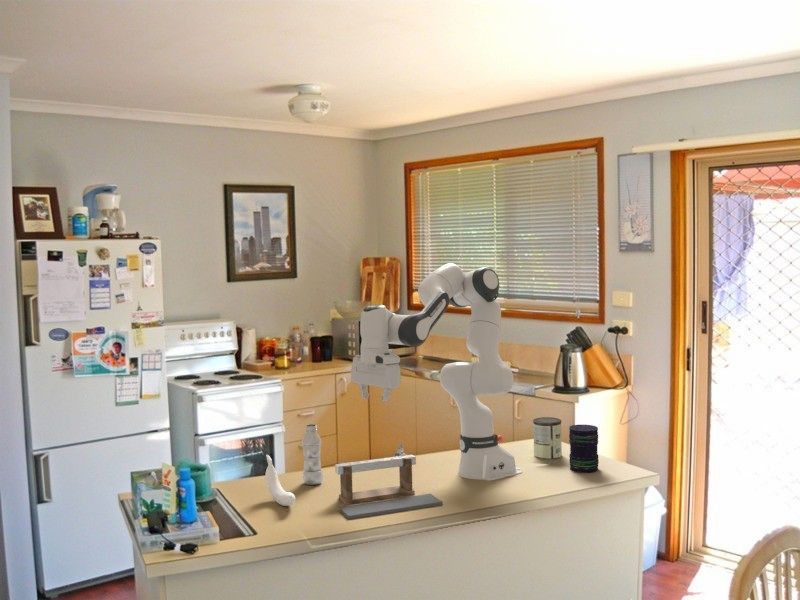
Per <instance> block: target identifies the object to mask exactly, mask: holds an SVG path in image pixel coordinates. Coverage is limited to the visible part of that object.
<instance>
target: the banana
mask: <svg viewBox="0 0 800 600" xmlns="http://www.w3.org/2000/svg"><path fill="white" fill-rule="evenodd" d="M265 458H266V462H267V464H268V465H267V468H266V471H265V482H266V483H265V484H266V486H267V490H268V492H269V493H270V496H271V497H272V499H273V500H274V501H275V502H276V503H277V504H279V505H281V506H284V507H288V506H291V505H293V504H294V503H295V501H296V495H295V494H294V493H293V492H290V491H286V490H285V489H284V488H283V486H282V485H281V482H280V479H279V476H278V472H277V470H276V467H274V465H273V460H272V458H271V456H270V455H269V454H266V455H265Z"/></svg>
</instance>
